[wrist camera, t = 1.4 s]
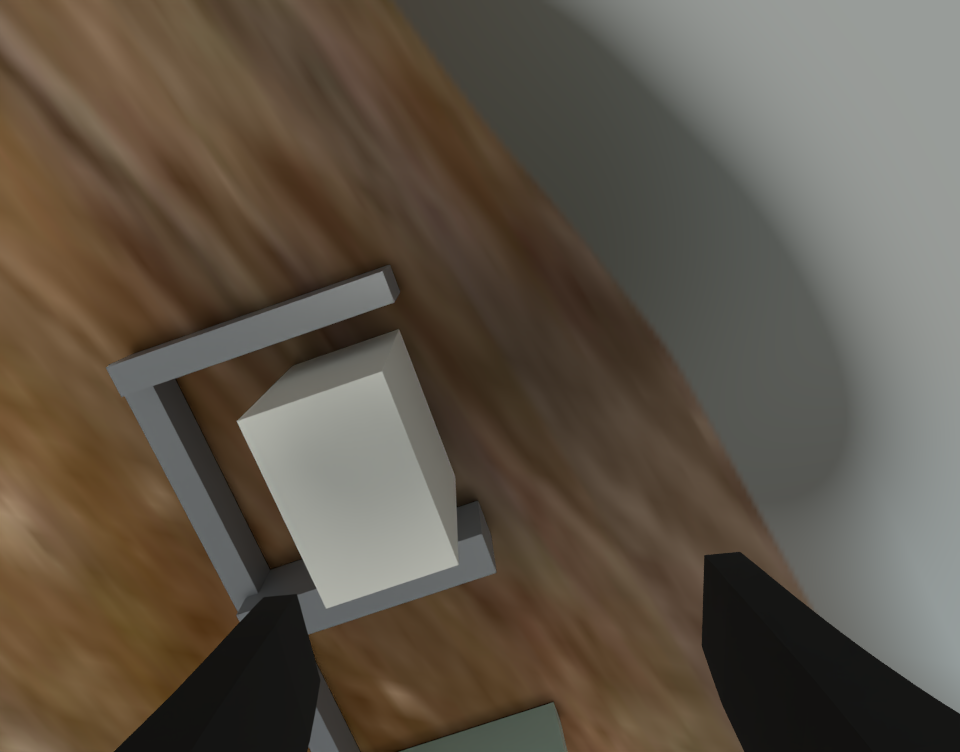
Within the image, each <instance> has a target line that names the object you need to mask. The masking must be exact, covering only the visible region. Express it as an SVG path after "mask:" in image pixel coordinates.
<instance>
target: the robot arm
mask: <svg viewBox="0 0 960 752" xmlns="http://www.w3.org/2000/svg"><path fill="white" fill-rule="evenodd" d="M702 648H703V651H704V654H705V657H706V660H707V663H708V666H709V669H710V671H711V674H712V677H713V680H714V683H715V686H716V689H717V691H718V694H719V697H720V700H721V702H722V705H723V707H724V709H725V712H726V714H727V716H728V718H729V720H730V722H731V724H732V726H733V729H734V731H735V733H736V735H737V737H738V739H739V741H740V743H741V745H742V747H743V750H744V752H960V714H959V713H958V712H956V711H954V710H953V709H951V708H950V707H948V706H946V705H945V704H943V703H942V702H940V701H938V700H937V699H935V698H934V697H932V696H931V695H929V694H928V693H926V692H925V691H923V690H922V689H920V688H919V687H917V686H916V685H914V684H913V683H911V682H910V681H908V680H907V679H905V678H904V677H903V676H901V675H900V674H898V673H897V672H895V671H894V670H892V669H891V668H889V667H888V666H887V665H885V664H884V663H882V662H881V661H879V660H878V659H876V658H875V657H874V656H872V655H871V654H870V653H868V652H867V651H865V650H864V649H863V648H861V647H860V646H859V645H857V644H856V643H855V642H853V641H852V640H850V639H849V638H848V637H846V636H845V635H844V634H842V633H841V632H840V631H839V630H837V629H836V628H835V627H833V626H832V625H831V624H829V623H828V622H827V621H825V620H824V619H823V618H822V617H820V616H819V615H818V614H816V613H815V612H814V611H813V610H811V609H810V608H809V607H807V606H806V605H805V604H804V603H802V602H801V601H800V600H799V599H797V598H796V597H795V596H794V595H792V594H791V593H790V592H789V591H788V590H786V589H785V588H784V587H783V586H781V585H780V584H779V583H778V582H776V581H775V580H774V579H773V578H772V577H770V576H769V575H768V574H767V573H765V572H764V571H763V570H762V569H761V568H759V567H758V566H757V565H756V564H754V563H753V562H752V561H751V560H749V559H748V558H747V557H746V556H744V555H743V554H742V553H741V552H734V553H723V554H713V555H704V589H703V624H702ZM320 681H321V680H320V676H319V673H318V669H317V665H316V662H315V658H314V654H313V651H312V647H311V643H310V640H309V636H308V632H307V629H306V625H305V621H304V618H303V614H302V610H301V607H300V603H299V599H298V596H297V594H291V595H281V596H270V597H263V598H262V599H261V600H260V601H259V602H258V603H257V604H256V605H255V606H254V607H253V608H252V610H251V611H250V612H249V613H248V614H247V615H246V616H245V617H244V618H243V619H242V620H241V621H240V623H239V624H238V625H237V626H236V627H235V628H234V629H233V630H232V631H231V632H230V633H229V635H228V636H227V637H226V638H225V639H224V640H223V641H222V642H221V643H220V644H219V645H218V646H217V648H216V649H215V650H214V651H213V652H212V653H211V654H210V655H209V656H208V657H207V658H206V659H205V660H204V661H203V663H202V664H201V665H200V666H199V667H198V668H197V669H196V670H195V671H194V672H193V673H192V674H191V675H190V676H189V677H188V678H187V679H186V681H185V682H184V683H183V684H182V685H181V686H180V687H179V688H178V689H177V690H176V691H175V692H174V693H173V694H172V695H171V696H170V697H169V698H168V699H167V700H166V701H165V702H164V703H163V704H162V705H161V706H160V707H159V708H158V709H157V710H156V711H155V712H154V713H153V714H152V715H151V716H150V717H149V718H148V719H147V720H146V721H145V722H144V723H143V724H142V725H141V726H140V727H139V728H138V729H137V730H136V731H135V732H134V733H133V734H132V735H131V736H129V737H128V738H127V739H126V740H125V741H124V742H123V743H122V744H121V745H120V746H119V747H118V748H117V749H116V750H115V751H114V752H307V749H308V746H309V742H310V738H311V732H312V727H313V722H314V717H315V711H316V705H317V699H318V693H319V687H320Z"/></svg>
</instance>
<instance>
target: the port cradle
mask: <svg viewBox="0 0 960 752" xmlns="http://www.w3.org/2000/svg"><path fill="white" fill-rule="evenodd" d="M399 293H400V290H399V287H398V285H397V282H396V279H395V277H394V274H393V271H392V269H391V266H390V265H387V266H384V267H381V268H378V269H375V270H372V271H370V272H367V273H364V274H361V275H358V276H355V277H352V278H349V279H347V280H344V281H341V282H338V283H335V284H332V285H329V286H327V287H324V288H321V289H318V290H315V291H312V292H309V293H306V294H304V295H301V296H298V297H295V298H292V299H289V300H286V301H284V302H281V303H278V304H275V305H272V306H269V307H266V308H263V309H261V310H258V311H255V312H252V313H249V314H246V315H243V316H241V317H238V318H235V319H232V320H229V321H226V322H223V323H220V324H218V325H215V326H212V327H209V328H206V329H203V330H200V331H198V332H195V333H192V334H189V335H186V336H183V337H180V338H177V339H175V340H172V341H169V342H166V343H163V344H160V345H157V346H155V347H152V348H149V349H146V350H143V351H140V352H137V353H134V354H132V355H129V356H127V357H125V358H123V359H120V360H118V361H116V362H114V363H112V364H109V366H108V367H106V369H107V371H108V372H109V374H110V376H111V378H112V380H113V382H114V384H115V386H116V388H117V390H118V391H119V393H120V395H121V397H123V396H125V398H126V400H127V402H128V403H129V405H130V407H131V409H132V411H133V413H134V415H135V417H136V419H137V421H138V422H139V424H140V426H141V428H142V430H143V432H144V434H145V436H146V438H147V440H148V442H149V443H150V445H151V447H152V449H153V451H154V453H155V455H156V457H157V459H158V461H159V463H160V464H161V466H162V468H163V470H164V472H165V474H166V476H167V478H168V480H169V482H170V483H171V485H172V487H173V489H174V491H175V493H176V495H177V497H178V499H179V501H180V503H181V504H182V506H183V508H184V510H185V512H186V514H187V516H188V518H189V520H190V522H191V524H192V525H193V527H194V529H195V531H196V533H197V535H198V537H199V539H200V541H201V543H202V544H203V546H204V548H205V550H206V552H207V554H208V556H209V558H210V560H211V562H212V564H213V565H214V567H215V569H216V571H217V573H218V575H219V577H220V579H221V581H222V583H223V585H224V586H225V588H226V590H227V592H228V594H229V596H230V598H231V600H232V602H233V604H234V605H235V607H236V609H237V611H238V613H237V615H236V616H237V618H238V619H239V621H241V620H242V619H243V618H244V617H245V616H246V615H247V614H248V613H249V612H250V611H251V610H252V608H253V607H254V606H255V605H256V604H257V603H258V602H259V601H260V600H261V599H262V598H263V597H270V596H281V595H291V594H297V596H298V599H299V603H300V607H301V610H302V614H303V618H304V621H305V625H306V629H307V632H308V634H311V633H314V632H317V631H321V630H324V629H327V628H330V627H333V626H336V625H339V624H342V623H345V622H348V621H351V620H354V619H357V618H360V617H363V616H366V615H369V614H372V613H375V612H378V611H381V610H384V609H387V608H390V607H393V606H396V605H400V604H403V603H406V602H409V601H412V600H415V599H418V598H421V597H424V596H427V595H430V594H433V593H436V592H439V591H442V590H445V589H448V588H451V587H454V586H457V585H460V584H463V583H466V582H469V581H472V580H475V579H479V578H482V577H485V576H488V575H491V574H494V573H497V572H496V565H495V558H494V551H493V544H492V537H491V534H490V531H489V528H488V526H487V523H486V520H485V518H484V515H483V512H482V510H481V507H480V504H479V502H478V501H475V502H472V503H469V504H466V505H463V506H460V507H457V533H458V558H459V565H457V566H454V567H451V568H448V569H445V570H442V571H439V572H436V573H433V574H430V575H427V576H424V577H421V578H418V579H415V580H412V581H409V582H405V583H402V584H399V585H396V586H393V587H390V588H387V589H384V590H381V591H378V592H375V593H372V594H369V595H366V596H363V597H360V598H357V599H354V600H351V601H348V602H345V603H342V604H339V605H336V606H333V607H330V608H327V609H326V607H325V605H324V603H323V601H322V599H321V597H320V595H319V593H318V591H317V588H316V586H315V584H314V582H313V580H312V578H311V576H310V574H309V572H308V570H307V567H306V565H305V563H304V561H303V559H301V560H298V561H295V562H292V563H289V564H286V565H283V566H280V567H277V568H274V569H271V570H270V569H269V567H268V565H267V563H266V561H265V559H264V557H263V555H262V553H261V551H260V549H259V547H258V545H257V543H256V541H255V539H254V537H253V535H252V533H251V531H250V529H249V527H248V525H247V523H246V521H245V519H244V517H243V515H242V513H241V511H240V509H239V507H238V505H237V503H236V501H235V498H234V496H233V494H232V492H231V490H230V488H229V486H228V484H227V482H226V480H225V478H224V476H223V474H222V472H221V470H220V468H219V466H218V464H217V462H216V460H215V458H214V456H213V454H212V452H211V450H210V448H209V446H208V444H207V442H206V440H205V438H204V436H203V434H202V432H201V430H200V428H199V426H198V424H197V422H196V420H195V418H194V416H193V414H192V412H191V410H190V408H189V406H188V404H187V402H186V400H185V398H184V396H183V394H182V392H181V390H180V388H179V386H178V384H177V382H176V380H175V378H178V377H181V376H184V375H186V374H189V373H192V372H195V371H198V370H201V369H204V368H207V367H209V366H212V365H215V364H218V363H221V362H224V361H227V360H230V359H233V358H235V357H238V356H241V355H244V354H247V353H250V352H253V351H256V350H259V349H261V348H264V347H267V346H270V345H273V344H276V343H279V342H282V341H284V340H287V339H290V338H293V337H296V336H299V335H302V334H305V333H308V332H310V331H313V330H316V329H319V328H322V327H325V326H328V325H331V324H334V323H336V322H339V321H342V320H345V319H348V318H351V317H354V316H357V315H360V314H362V313H365V312H368V311H371V310H374V309H377V308H380V307H383V306H385V305H388V304H391V303H394V302H395V300H396V299H397V297H398V295H399ZM316 665H317V664H316ZM317 669H318V673H319V676H320V680H321V681H320V687H319V693H318V699H317V705H316V711H315V717H314V722H313V727H312V732H311V738H310V742H309V746H308V747H309V748H310V750H311V752H360V750H359V748H358V746H357V744H356V742H355V740H354V738H353V736H352V734H351V732H350V730H349V728H348V726H347V724H346V722H345V720H344V718H343V716H342V714H341V712H340V710H339V708H338V706H337V704H336V702H335V700H334V698H333V696H332V694H331V692H330V690H329V688H328V686H327V684H326V682H325V680H324V678H323V676H322V674H321V672H320V670H319V668H318V666H317ZM400 752H567V748H566V744H565V739H564V735H563V730H562V726H561V722H560V718H559V716H558V713H557V710H556V708H555V705H554V702H552V703H549V704H546V705H543V706H540V707H537V708H534V709H530V710H527V711H524V712H521V713H518V714H515V715H512V716H509V717H506V718H502V719H499V720H496V721H493V722H490V723H487V724H484V725H481V726H477V727H474V728H471V729H468V730H465V731H462V732H459V733H456V734H453V735H449V736H446V737H443V738H440V739H437V740H434V741H431V742H428V743H424V744H421V745H418V746H415V747H412V748H409V749H406V750H403V751H400Z"/></svg>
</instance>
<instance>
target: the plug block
mask: <svg viewBox="0 0 960 752" xmlns="http://www.w3.org/2000/svg"><path fill="white" fill-rule="evenodd" d="M237 423H238V425H239V427H240V429H241V431H242V433H243V435H244V437H245V439H246V441H247V444H248V446H249V448H250V450H251V452H252V454H253V456H254V458H255V460H256V462H257V465H258V467H259V469H260V471H261V473H262V475H263V477H264V479H265V481H266V483H267V486H268V488H269V490H270V492H271V494H272V496H273V498H274V500H275V502H276V504H277V507H278V509H279V511H280V513H281V515H282V517H283V519H284V521H285V523H286V525H287V528H288V530H289V532H290V534H291V536H292V538H293V540H294V542H295V544H296V546H297V549H298V551H299V553H300V555H301V557H302V559H303V561H304V563H305V565H306V567H307V570H308V572H309V574H310V576H311V578H312V580H313V582H314V584H315V586H316V588H317V591H318V593H319V595H320V597H321V599H322V601H323V603H324V605H325V607H326V609H327V608H330V607H333V606H336V605H339V604H342V603H345V602H348V601H351V600H354V599H357V598H360V597H363V596H366V595H369V594H372V593H375V592H378V591H381V590H384V589H387V588H390V587H393V586H396V585H399V584H402V583H405V582H409V581H412V580H415V579H418V578H421V577H424V576H427V575H430V574H433V573H436V572H439V571H442V570H445V569H448V568H451V567H454V566H457V565H459V558H458V533H457V507H456V481H455V475H454V472H453V469H452V467H451V464H450V462H449V459H448V456H447V454H446V451H445V448H444V446H443V443H442V441H441V438H440V435H439V433H438V430H437V427H436V425H435V422H434V419H433V417H432V414H431V412H430V409H429V406H428V404H427V401H426V398H425V396H424V393H423V391H422V388H421V385H420V383H419V380H418V377H417V375H416V372H415V370H414V367H413V364H412V362H411V359H410V356H409V354H408V351H407V349H406V346H405V343H404V341H403V338H402V335H401V333H400V330H399V329H397V330H395V331H392V332H389V333H386V334H383V335H380V336H377V337H374V338H371V339H368V340H366V341H363V342H360V343H357V344H354V345H351V346H348V347H345V348H342V349H339V350H337V351H334V352H331V353H328V354H325V355H322V356H319V357H316V358H313V359H310V360H308V361H305V362H302V363H299V364H296V365H293V366H292V367H291V368H290V369H289V370H288V371H287V372H286V373H285V374H284V375H283V376H282V377H281V378H280V379H279V380H278V381H277V382H276V383H275V384H274V385H273V386H272V387H271V388H270V389H269V390H268V391H267V392H266V393H265V394H264V395H263V396H262V397H261V398H260V399H259V400H258V401H257V402H256V403H255V404H254V405H253V406H252V407H251V408H250V409H249V410H248V411H246V412H245V413H244V414H243V415H242V416H241V417H240V418H239V419H238V420H237Z"/></svg>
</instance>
